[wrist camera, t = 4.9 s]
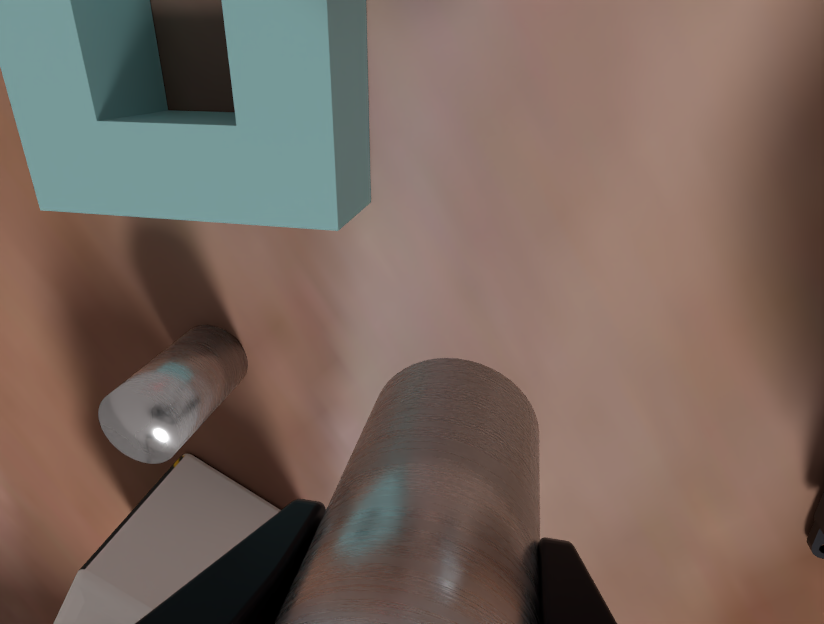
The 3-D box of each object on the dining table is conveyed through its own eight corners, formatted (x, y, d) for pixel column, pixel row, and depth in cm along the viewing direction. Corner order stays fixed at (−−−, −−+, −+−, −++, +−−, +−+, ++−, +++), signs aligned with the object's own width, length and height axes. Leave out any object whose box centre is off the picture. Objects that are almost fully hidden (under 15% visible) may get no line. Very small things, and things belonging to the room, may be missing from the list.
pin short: (242, 328, 22) (170, 396, 18) (251, 391, 24) (185, 469, 19) (176, 321, 23) (89, 385, 19) (187, 383, 24) (109, 457, 20)
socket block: (362, -168, 15) (315, -226, 12) (371, 201, 19) (338, 230, 16) (41, -146, 17) (-72, -192, 14) (114, 187, 21) (40, 210, 18)
